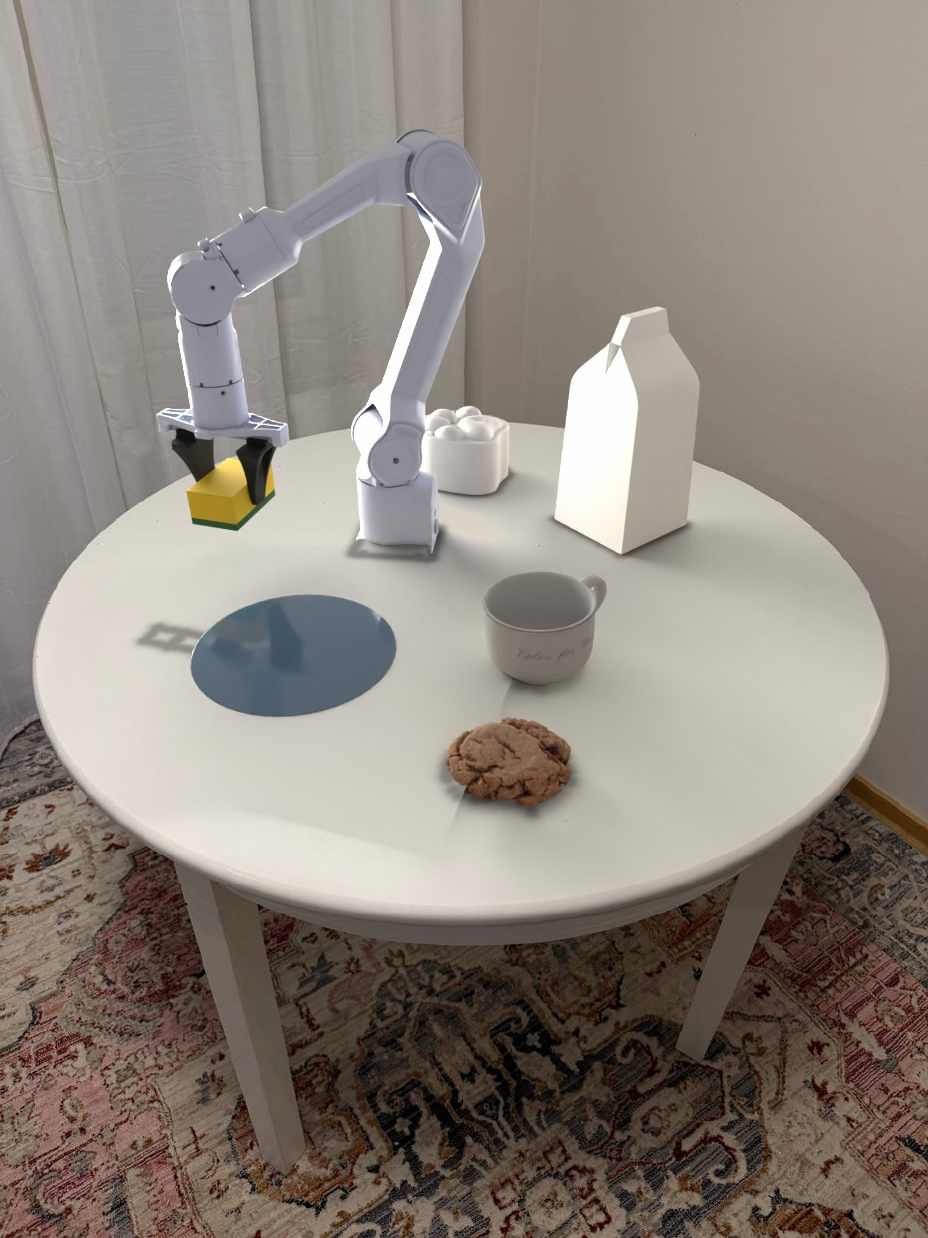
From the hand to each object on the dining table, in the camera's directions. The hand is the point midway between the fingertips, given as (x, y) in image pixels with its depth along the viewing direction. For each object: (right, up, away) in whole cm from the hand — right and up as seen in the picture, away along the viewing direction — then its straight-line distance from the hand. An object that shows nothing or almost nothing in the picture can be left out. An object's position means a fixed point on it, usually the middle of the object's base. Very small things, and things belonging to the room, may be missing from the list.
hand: (233, 497), depth 98 cm
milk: (+46, -1, +13) cm, 47 cm away
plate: (+9, -18, -11) cm, 23 cm away
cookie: (+30, -27, -23) cm, 46 cm away
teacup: (+34, -18, -11) cm, 40 cm away
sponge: (0, -1, +1) cm, 1 cm away
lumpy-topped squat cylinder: (+25, +6, +24) cm, 35 cm away
